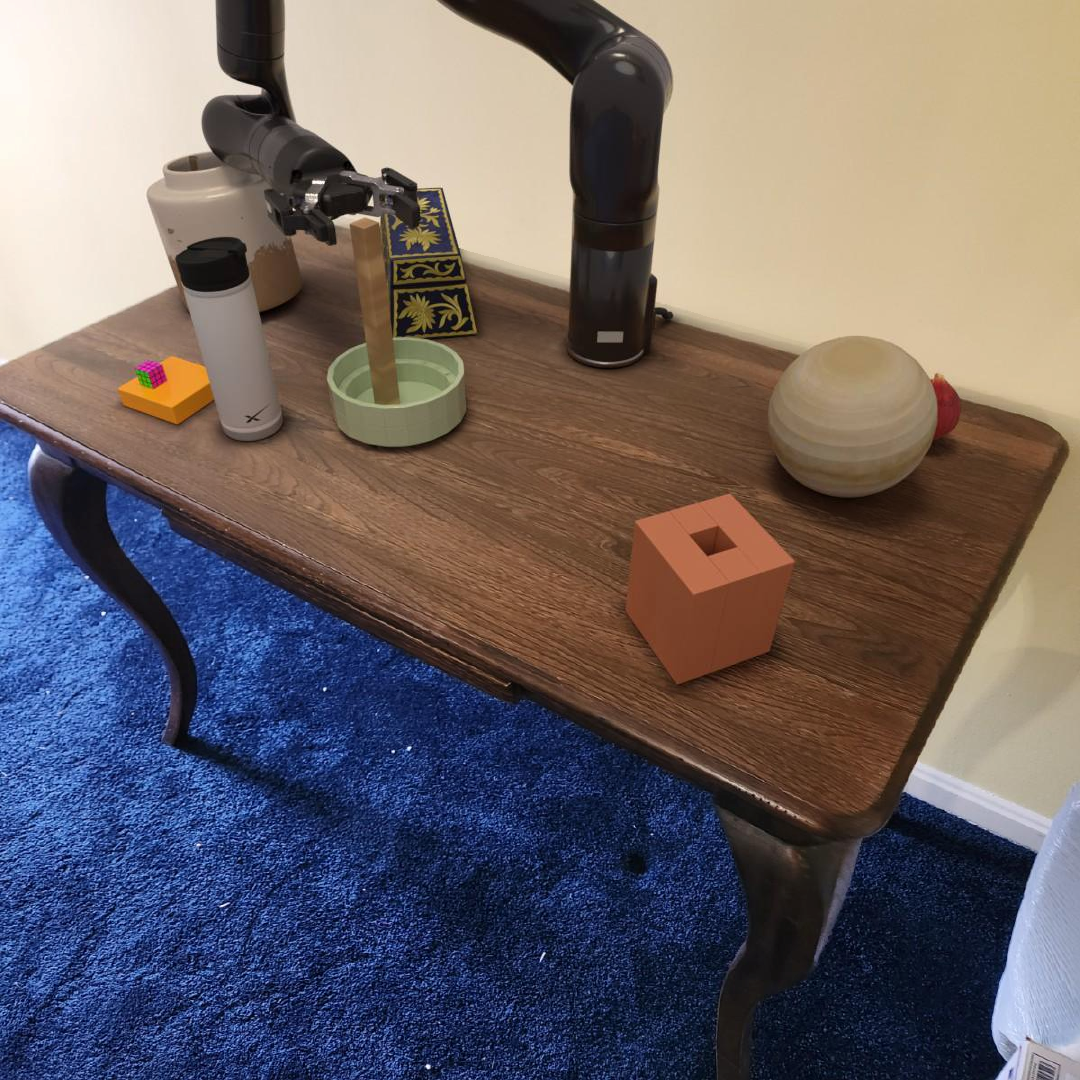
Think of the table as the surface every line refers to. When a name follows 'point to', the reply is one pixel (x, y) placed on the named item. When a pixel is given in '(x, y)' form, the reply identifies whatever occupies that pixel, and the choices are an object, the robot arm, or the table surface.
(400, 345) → the bowl
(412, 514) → the table surface
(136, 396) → the orange flat block
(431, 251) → the decorative box
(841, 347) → the decorative ball
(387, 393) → the long square wooden peg
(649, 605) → the stick holder
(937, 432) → the onion
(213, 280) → the travel mug
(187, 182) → the vase
